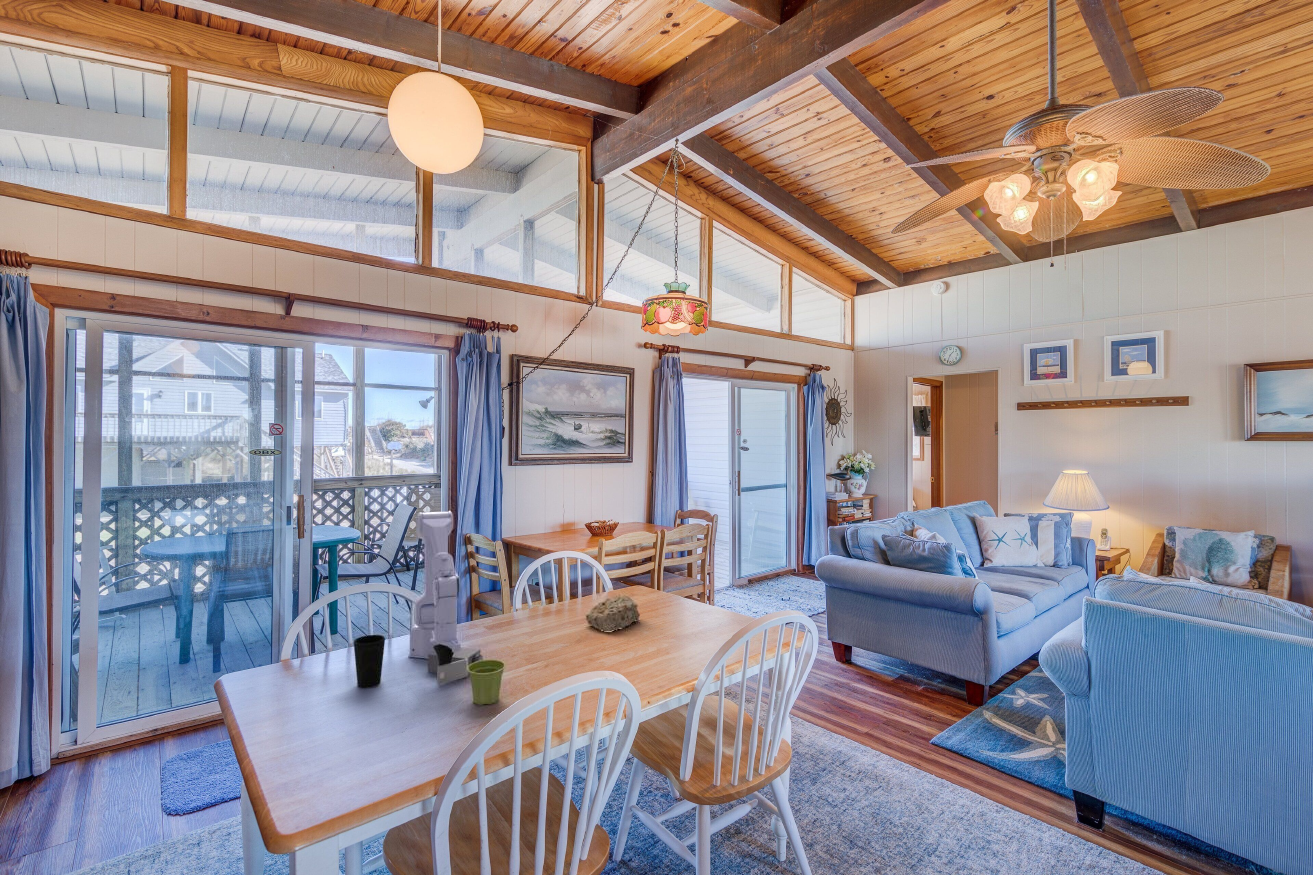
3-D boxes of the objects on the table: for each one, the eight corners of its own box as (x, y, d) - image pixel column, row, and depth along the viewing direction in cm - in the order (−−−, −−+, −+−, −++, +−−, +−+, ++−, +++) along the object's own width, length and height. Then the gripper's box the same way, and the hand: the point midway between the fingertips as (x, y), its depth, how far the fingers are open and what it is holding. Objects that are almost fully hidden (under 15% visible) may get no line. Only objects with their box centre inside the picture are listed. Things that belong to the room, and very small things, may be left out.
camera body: (427, 672, 175) (428, 652, 175) (443, 662, 183) (443, 643, 183) (471, 677, 172) (471, 656, 172) (485, 667, 179) (485, 647, 179)
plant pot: (484, 711, 151) (485, 676, 151) (458, 702, 156) (459, 667, 156) (513, 698, 159) (513, 664, 159) (487, 689, 164) (487, 656, 164)
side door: (439, 685, 165) (439, 667, 165) (436, 684, 166) (437, 666, 166) (469, 676, 172) (469, 659, 171) (466, 675, 172) (467, 658, 172)
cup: (353, 691, 161) (354, 645, 161) (352, 681, 168) (353, 637, 168) (385, 686, 165) (386, 641, 165) (383, 676, 172) (384, 633, 172)
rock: (615, 638, 209) (608, 609, 210) (584, 640, 217) (577, 612, 218) (649, 617, 227) (642, 590, 227) (618, 619, 235) (612, 593, 235)
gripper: (420, 617, 171) (420, 666, 171) (442, 630, 160) (441, 683, 160) (445, 612, 175) (445, 660, 176) (468, 625, 165) (467, 676, 165)
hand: (445, 670), depth 168 cm, fingers closed, pressing on side door
